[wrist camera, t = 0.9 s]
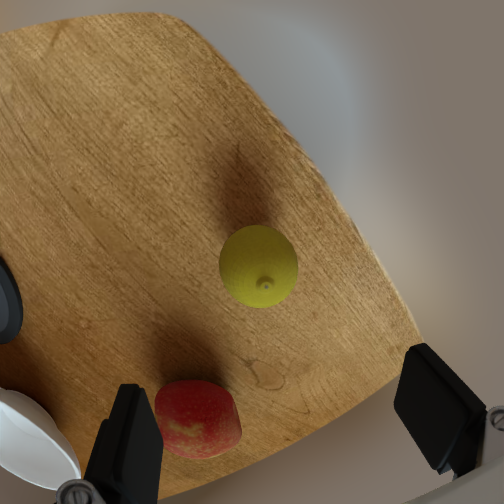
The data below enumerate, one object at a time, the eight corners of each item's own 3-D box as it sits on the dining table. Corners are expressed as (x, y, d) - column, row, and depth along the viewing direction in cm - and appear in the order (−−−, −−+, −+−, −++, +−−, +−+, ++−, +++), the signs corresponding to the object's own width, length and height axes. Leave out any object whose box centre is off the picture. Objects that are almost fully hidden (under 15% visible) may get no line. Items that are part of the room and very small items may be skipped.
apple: (159, 359, 29) (146, 417, 21) (244, 367, 30) (252, 425, 22) (161, 413, 31) (153, 468, 24) (235, 419, 32) (240, 474, 25)
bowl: (-34, 331, 26) (-62, 359, 19) (95, 394, 30) (78, 437, 23) (-12, 423, 31) (-28, 450, 24) (92, 471, 35) (83, 505, 28)
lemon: (295, 259, 27) (324, 300, 20) (239, 290, 27) (247, 341, 20) (266, 203, 25) (286, 225, 18) (206, 236, 26) (201, 272, 18)
